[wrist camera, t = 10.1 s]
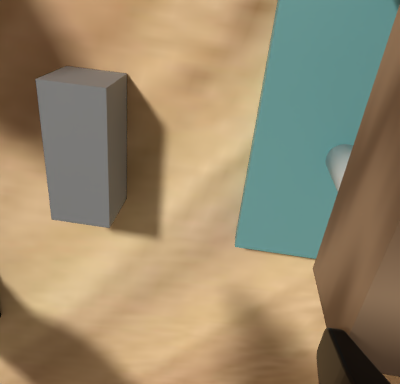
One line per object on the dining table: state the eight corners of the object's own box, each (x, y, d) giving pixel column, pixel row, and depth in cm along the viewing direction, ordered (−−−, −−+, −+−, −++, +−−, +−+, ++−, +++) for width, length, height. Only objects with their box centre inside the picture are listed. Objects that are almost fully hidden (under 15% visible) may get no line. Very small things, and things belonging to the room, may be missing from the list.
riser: (126, 198, 21) (109, 228, 19) (75, 191, 21) (51, 219, 19) (126, 73, 18) (106, 88, 15) (66, 66, 18) (35, 79, 15)
